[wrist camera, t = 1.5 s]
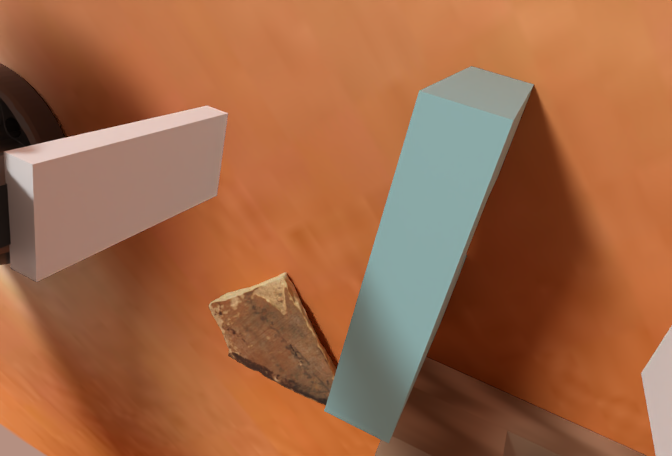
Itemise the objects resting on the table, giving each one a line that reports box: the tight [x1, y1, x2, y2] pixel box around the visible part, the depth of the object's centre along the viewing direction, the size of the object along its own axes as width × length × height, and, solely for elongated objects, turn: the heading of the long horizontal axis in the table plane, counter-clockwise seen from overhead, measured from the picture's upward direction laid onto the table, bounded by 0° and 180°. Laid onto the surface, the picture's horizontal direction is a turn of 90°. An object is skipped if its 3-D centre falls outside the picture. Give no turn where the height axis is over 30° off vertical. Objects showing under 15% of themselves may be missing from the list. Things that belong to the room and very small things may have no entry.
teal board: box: [324, 66, 534, 443], centre depth 24 cm, size 14×3×10 cm, turn 166°
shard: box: [209, 272, 337, 405], centre depth 36 cm, size 11×8×2 cm
